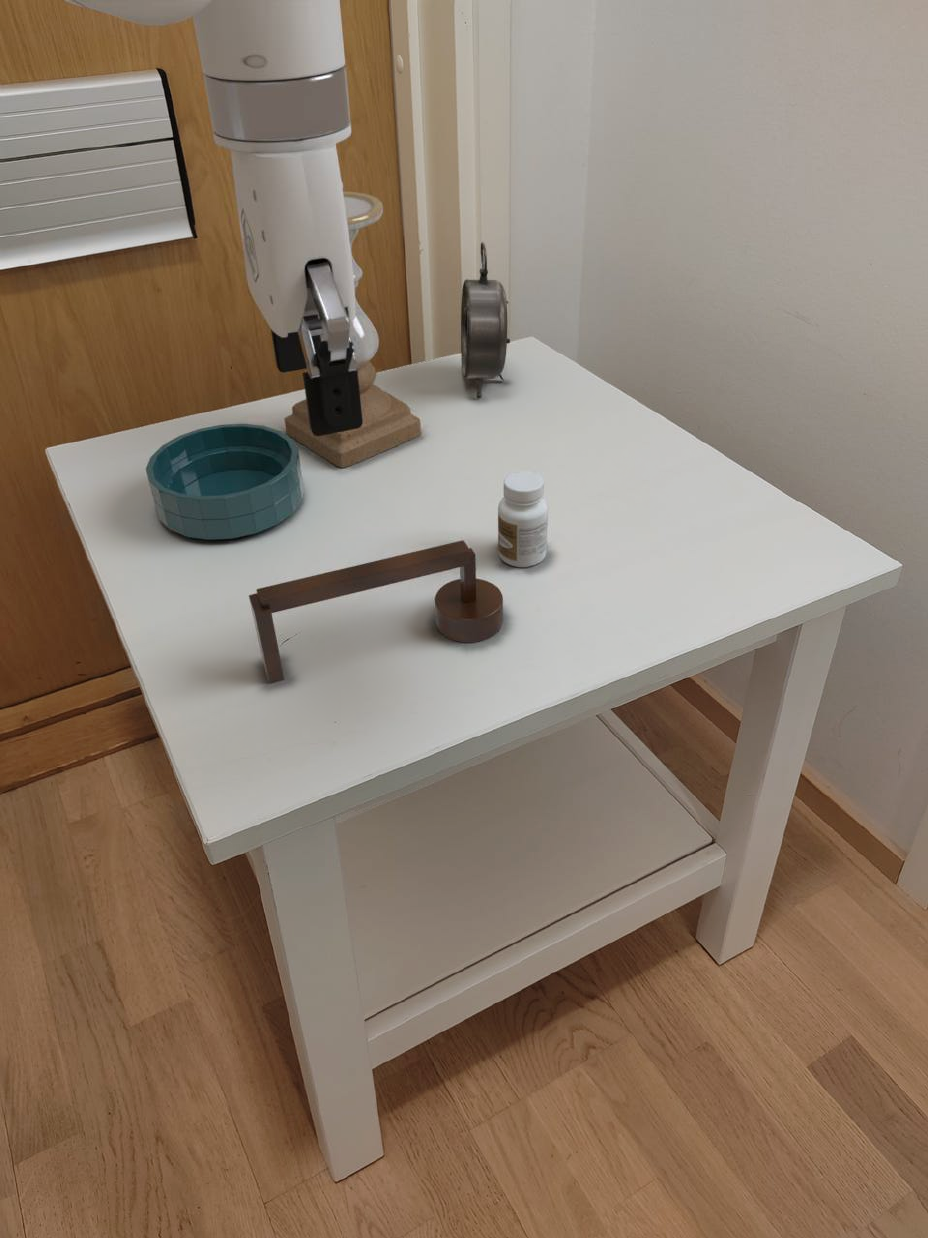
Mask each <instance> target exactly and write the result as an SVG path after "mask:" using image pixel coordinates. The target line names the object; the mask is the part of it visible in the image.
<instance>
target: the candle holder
mask: <svg viewBox="0 0 928 1238" xmlns="http://www.w3.org/2000/svg"><path fill="white" fill-rule="evenodd" d="M343 195H344V202H345V209H346V217H347V224H348V232H349V241H350V249H351V258H352V267H353V277H354V288H355V291H356V290H357V287H358V285H359V281H360V280H361V279H362V277H363V270H362V268H361V267H360V265H358V264H357V262H356V260H355V258H354V257H353V251H352V249H353V243H354V241H355V239H356V237H357V236H358V233H359V232H360V229H363V228H365V227H368V226H371V225H373V224H374V223H376V222H378V221H379V220H380V219H381V217H382V215H383V213H384V206H383V203H382V201H380V200H379V198H378V197H375V196H373V195H370V194H367V193H363V192H356V191H344V190H343ZM355 308H356V313H355V319H354V320H353V322H352V323H351V324H350V338H351V342H352V343H353V345H354V346H353V349H354V354H355V358H356V363H357V371H358V381H359V390H360V400H361V410H362V420H363V424H362V426H361V427H360V428H357V429H353V430H348V431H343V432H338V433H333V434H327V435H322V436H315V435H314V434H313V433H312V431H311V429H310V422H309V415H308V408H307V401H306V398H305V399H303V400H301V401H298V402H296V403H294V405H292V407H291V410H292V412H291V414H290V415H287V416H286V417H284V426H285V431H286V435H287V436H288V437H290V438H291V439H292V440H294V441H296V442H297V443H300V444H301V445H303V446H304V447H306V448H308V449H309V450H310V451H312V452H313V453H315V454H317V455H318V456H320V457H322V458H323V459H324V460H326V461H328V462H329V463H331V464H333V465H334V466H336V467H338V468H340V469H341V468H342V469H345V468H348V467H350V466H353V465H356V464H358V463H360V462H362V461H365V460H367V459H369V458H372V457H374V456H376V455H379V454H381V453H383V452H385V451H388V450H391V449H393V448H395V447H397V446H399V445H402V444H404V443H406V442H408V441H411V440H413V439H415V438H417V437H419V436H420V435H421V434H422V429H421V428H422V427H421V419H420V418H419V417H418V416H416V415H415V414H413V413H411V407H409V406H408V404H407V403H405V402H403V401H402V400H400V399H399V398H397V397H396V396H393V395H392V394H390V393H388V392H387V391H385V390H383V389H382V388H381V387H379V386H377V385H376V384H375V381H376V379H377V371H376V368H375V366H374V365H373V364H372V362H371V361H370V360H372V359H373V358H374V356H375V355H376V353H377V352H378V350H379V345H380V338H379V334H378V331H377V329H376V327H375V325H374V324H373V322H372V320H371V319H370V318H369V317H368V315H367V314H366V313H365V311H364V310H363V309H362V307H361V306H360V304H359V303H358V300H357V298H356V297H355ZM318 319H320V317H319V314H318ZM320 336H321V341H324V338H323V335H322V334H321V335H320Z"/></svg>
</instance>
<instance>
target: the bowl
mask: <svg viewBox="0 0 928 1238" xmlns="http://www.w3.org/2000/svg"><path fill="white" fill-rule="evenodd" d="M145 472H146V477H147V481H148V485H149V488H150V493H151V495H152V500H153V503H154V506H155V510H156V513H157V517H158V520H159V521H160V522H161V523H162V524H163V525H164V526H165V527H166V528H168V530H170V531H172V532H174V533H177V534H178V535H182V536H184V537H188V538H194V539H201V540H208V541H209V540H228V539H236V538H240V537H245V536H251V535H254V534H257V533H260V532H262V531H265V530H267V529H270V528H272V527H274V526H277V525H279V524H280V523H281V522H282V521H284V520H285V519H287V518H289V517H290V516H291V515H292V514H293V513H294V512H295V511H296V509H297V508H298V507H299V506H300V504H301V503H302V501H303V496H304V490H305V488H304V482H303V481H304V479H303V473H302V468H301V460H300V454H299V450H298V446H297V445H296V442H295V440H294V439H293V438H292V437H291V436H289V435H288V434H287V433H286V434H285V433H284V431H281V430H278V429H275V428H272V427H269V426H266V425H260V424H252V423H227V424H226V423H225V424H217V425H213V426H207V427H202V428H197V429H195V430H192V431H189V432H186V433H184V434H181V435H178V436H177V437H175V438H173V439H171V440H169V441H167V442H166V443H164V444H162V445H161V446H160V447H159V448H158V449H157V450H156V451H155V452H154V453H153V454H151V455H150V457H149V460H148V461H147V465H146V467H145Z"/></svg>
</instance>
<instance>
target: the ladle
mask: <svg viewBox="0 0 928 1238" xmlns="http://www.w3.org/2000/svg"><path fill="white" fill-rule="evenodd" d="M476 561H477V560H476V553H475V551H474V550H473V548H472V547H469V546H468V545H467V544H466V542H465V540H462V539H461V540H458V541H454V542H450V543H449V542H448V543H445V544H441V545H437V546H432V547H429V548H425V549H421V550H415V551H412V552H408V553H403V554H399V555H395V556H390V557H387V558H386V557H385V558H382V559H378V560H374V561H369V562H366V563H360V564H357V565H352V566H349V567H344V568H341V569H336V570H335V569H334V570H332V571H328V572H327V571H326V572H323V573H319V574H314V575H311V576H306V577H302V578H298V579H293V580H290V581H285V582H281V583H276V584H272V585H268V586H263V587H260V588H256V593H252V594H249V595H248V599H249V604H250V609H251V613H252V618H253V623H254V627H255V631H256V632H255V633H256V636H257V637H256V638H257V642H258V646H259V651H260V655H261V660H262V664H263V668H264V671H265V674H266V678H267V681H268V683H269V684H272V683H275V682H280V681H284V680H285V674H284V669H283V665H282V660H281V659H282V658H281V654H280V649H279V644H278V639H277V633H276V629H275V623H274V618H273V614H275V613H279V612H284V611H287V610H291V609H295V608H299V607H303V606H307V605H311V604H312V605H313V604H316V603H319V602H323V601H328V600H332V599H336V598H340V597H344V596H348V595H352V594H356V593H360V592H361V593H362V592H364V591H369V590H373V589H376V588H377V589H378V588H382V587H384V586H385V587H386V586H389V585H390V586H391V585H393V584H398V583H401V582H405V581H409V580H414V579H418V578H422V577H426V576H430V575H434V574H438V573H443V572H446V571H450V570H455V569H458V568H459V577H460V578H457V579H454V580H451V581H449V582H446V583H445V584H444V585H442V586H441V587H440V588H438V590H437V591H436V592H435V595H434V617H435V626H436V629H437V630H438V631H439V632H440V633H441V634H442V636H444V637H446V638H447V639H450V640H452V641H456V642H460V643H478V642H482V641H485V640H488V639H490V638H492V637H494V635H497V633H498V632H499V631H500V630H501V628H502V626H503V622H504V597H503V594H502V591H501V590H500V589H499V587H497V585H495V584H494V583H492V582H490V581H488V580H485V579H482V578H477V576H476V575H477V565H476V564H477V563H476Z"/></svg>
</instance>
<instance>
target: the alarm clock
mask: <svg viewBox="0 0 928 1238" xmlns="http://www.w3.org/2000/svg"><path fill="white" fill-rule="evenodd" d="M480 258H481V259H480V261H481V268H480V269H479V279H467V278H465V280H464V281H463V285H462V290H461V291H462V292H461V304H460V305H461V307H460V309H461V310H460V312H461V313H460V314H461V315H460V354H461V355H460V356H461V372H462V377H463V378H464V379H465V380H470V379H471V380H472V379H473V380H475V386H476V393H477V394H476V399H481V398H482V396H483V394H482V388H483V380H494V379H495V380H496V379H497V378H498V377H499V378H500V379H501V380H502V381H503V382H505V380H504V378H503V376H502V373H503V371H504V368H505V364H506V359H507V348H508V344H510V343H511V339H510V338H508V323H509V322H508V304H509V301H508V300H507V294H506V290H505V287H504V285H503V284H502V282H500V281H499V280H497V279H488V274H489V269H488V253H487V247H486V243H485V242H484V241H482V242H481V243H480Z"/></svg>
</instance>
